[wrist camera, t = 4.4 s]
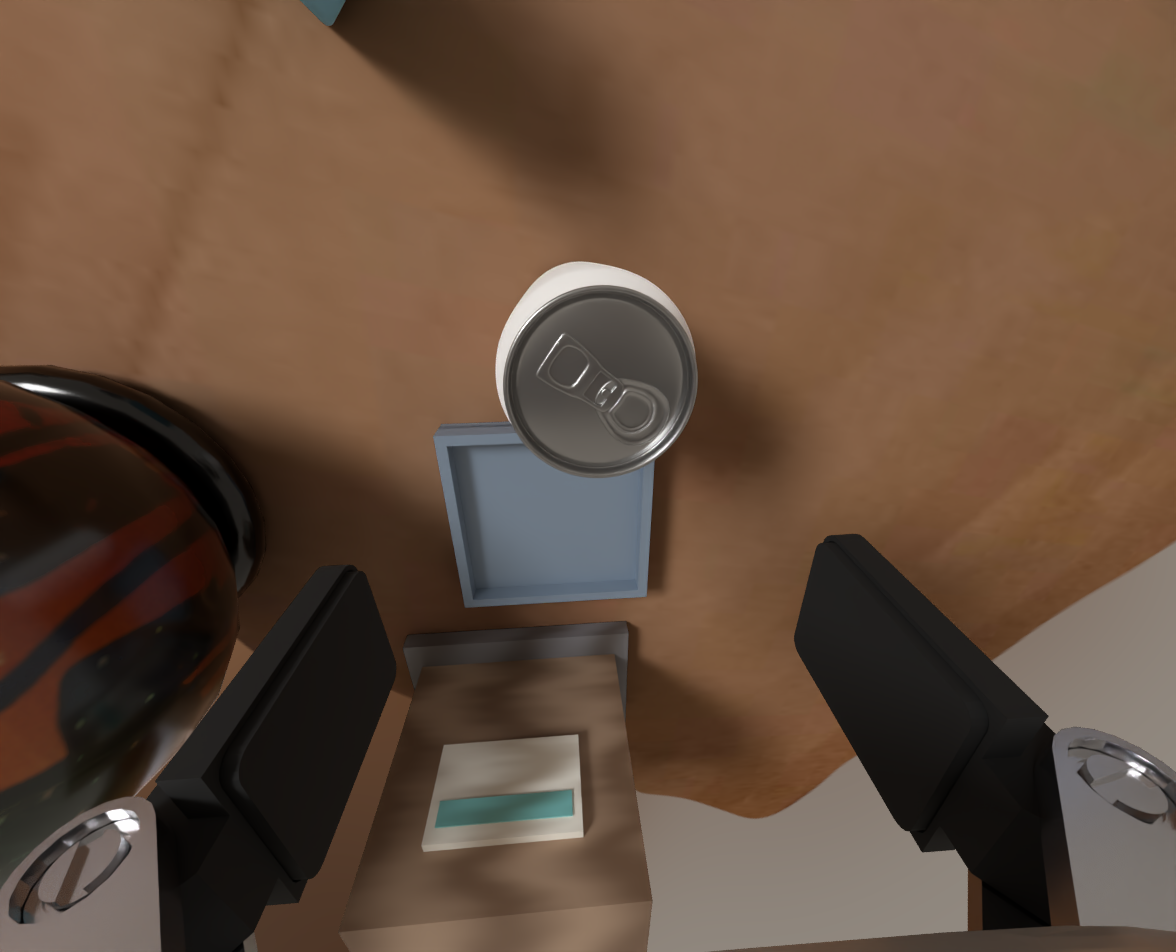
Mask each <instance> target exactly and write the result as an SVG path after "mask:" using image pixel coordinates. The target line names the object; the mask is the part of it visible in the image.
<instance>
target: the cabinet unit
mask: <svg viewBox="0 0 1176 952" xmlns="http://www.w3.org/2000/svg"><path fill="white" fill-rule="evenodd" d="M628 634H629V633H628V628H627V623H626V621H620V622H604V623H588V624H573V625H557V626H541V627H526V628H510V629H495V630H479V631H463V632H448V633H432V634H416V635H407V638H406V641H405V643H404V646H403V651H404V655H405V658H406V662H407V665H408V669H409V672H410V676H411V679H412V683H413V687H414V690H415V692H414V695H413V698H412V701H411V704H410V707H409V711H408V714H407V717H406V720H405V723H404V727H403V730H402V733H401V736H400V739H399V742H398V745H397V749H396V752H395V755H394V758H393V761H392V764H391V767H390V771H389V774H388V777H387V780H386V783H385V787H384V789H383V793H382V796H381V799H380V802H379V805H378V808H377V812H376V815H375V818H374V821H373V824H372V828H371V830H370V833H369V837H368V840H367V843H366V846H365V850H364V852H363V855H362V859H361V862H360V865H359V868H358V872H357V874H356V878H355V881H354V884H353V887H352V890H351V893H350V896H349V900H348V903H347V906H346V909H345V912H344V915H343V919H342V922H341V925H340V928H339V931H338V933H339V935H340V936H341V938H342V939H343V941H344V943H345V944H346V946H347V947H348V949H349V950H350V952H647V944H648V936H649V927H650V917H651V909H652V895H651V888H650V882H649V875H648V869H647V862H646V856H645V849H644V844H643V836H642V830H641V824H640V817H639V811H638V804H637V797H636V791H635V784H634V778H633V771H632V765H631V758H630V752H629V745H628V739H627V732H626V726H625V715H626V688H627V661H628Z"/></svg>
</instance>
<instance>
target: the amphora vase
mask: <svg viewBox="0 0 1176 952" xmlns="http://www.w3.org/2000/svg"><path fill="white" fill-rule="evenodd" d="M265 550H266V543H265V526H264V518H263V516H262V513H261V511H260V508H259V505H258V503H257V500H256V497H255V495H254V492H253V490H252V487H251V485H250V484H249V483H248V481H247V480H246V478H245V477H244V476H243V474H242V473H241V471H240V470H239V469H238V467H237V466H236V464H235V463H234V462H233V460H232V459H231V457H230V456H229V455H228V454H227V453H226V452H225V451H224V450H223V449H222V448H221V447H220V446H219V445H218V444H217V443H215V442H214V441H213V440H212V439H211V438H210V437H209V436H208V435H207V434H206V433H205V432H204V431H203V430H201V429H200V428H199V427H198V426H197V425H196V424H194V423H193V422H191V421H190V420H188V419H187V418H185V417H183V416H182V415H180V414H179V413H177V412H176V411H174V410H172V409H171V408H169V407H168V406H166V405H165V404H163V403H161V402H160V401H158V400H157V399H155V398H153V397H152V396H150V395H147V394H145V393H142V392H140V391H137V390H135V389H133V388H130V387H128V386H125V385H123V384H120V383H118V382H116V381H113V380H111V379H108V378H106V377H103V376H100V375H95V374H91V373H86V372H81V371H76V370H71V369H67V368H62V367H57V366H52V365H17V366H0V889H1V888H2V886H3V885H4V884H5V882H6V881H7V879H8V878H9V876H10V875H11V874H12V872H13V871H14V870H15V869H16V868H17V867H18V866H19V865H20V864H21V862H22V861H23V860H24V859H25V858H26V857H27V856H28V855H29V854H30V853H31V852H32V851H33V850H34V849H35V848H36V847H37V846H38V845H40V844H41V843H42V842H43V841H44V840H46V839H47V838H48V837H49V836H50V835H52V834H53V833H54V832H55V831H57V830H58V829H59V828H61V827H62V826H64V825H65V824H67V823H68V822H70V821H71V820H73V819H74V818H76V817H78V816H79V815H81V814H82V813H84V812H86V811H88V810H90V809H92V808H95V807H97V806H99V805H101V804H103V803H105V802H108V801H112V800H116V799H119V798H123V797H134V796H135V795H136V794H137V793H138V792H139V791H140V790H141V789H142V788H143V787H144V786H145V785H146V784H147V783H148V782H149V781H150V780H151V779H152V778H153V777H154V776H155V775H156V774H157V773H158V772H159V770H161V769H162V767H163V766H164V765H165V764H166V763H167V762H168V761H169V760H170V759H171V758H172V757H173V756H174V755H175V754H176V753H177V752H178V751H179V749H180V748H181V747H182V745H183V744H184V743H185V741H186V740H187V739H188V737H189V736H190V735H191V734H192V732H193V731H194V729H195V728H196V727H197V725H198V724H199V722H200V721H201V719H202V718H203V717H204V715H205V714H206V712H207V711H208V709H209V708H210V707H211V705H212V704H213V702H214V701H215V699H216V698H217V696H218V695H219V692H220V689H221V686H222V683H223V680H224V677H225V673H226V670H227V667H228V664H229V661H230V658H231V655H232V651H233V648H234V645H235V642H236V638H237V635H238V632H239V629H240V627H239V609H238V598H239V597H240V596H241V595H242V593H243V592H244V591H245V590H246V589H247V588H248V586H249V585H250V584H251V583H252V582H253V580H254V579H255V578H256V576H257V575H258V572H259V569H260V566H261V563H262V560H263V556H264V553H265Z"/></svg>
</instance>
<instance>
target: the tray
mask: <svg viewBox="0 0 1176 952" xmlns="http://www.w3.org/2000/svg"><path fill="white" fill-rule="evenodd" d="M433 438H434V443H435V448H436V454H437V459H438V465H439V470H440V475H441V481H442V486H443V492H444V497H445V503H446V508H447V513H448V519H449V524H450V530H451V535H452V540H453V546H454V551H455V557H456V562H457V567H458V573H459V578H460V584H461V589H462V595H463V600H464V605H465V608H469V607H485V606H502V605H518V604H535V603H551V602H567V601H584V600H600V599H617V598H633V597H647V580H648V563H649V546H650V529H651V513H652V496H653V479H654V462H655V460H654V461H652V462H651V463H649V464H648V465H646V466H644V467H642V468H640V469H638V470H635V471H633V472H630V473H627V474H624V475H620V476H615V477H608V478H587V477H580V476H575V475H571V474H568V473H565V472H562V471H560V470H557V469H555V468H553V467H551V466H550V465H548V464H546V463H545V462H543V461H542V460H540V459H539V458H538V457H537V456H535V455H534V454H533V453H532V452H531V451H530V450H529V449H528V448H527V447H526V446H525V444H524V443H523V442H522V441H521V439H520V438H519V436H518V435H517V433H516V431H515V430H514V428H513V426H512V424H511V423H510V422H487V423H460V424H441V426H440V427H439V429H438V430H437V432H436V433H435V435H434V436H433Z"/></svg>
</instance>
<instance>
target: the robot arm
mask: <svg viewBox="0 0 1176 952" xmlns="http://www.w3.org/2000/svg"><path fill="white" fill-rule="evenodd" d="M794 641H795V646H796V649H797V652H798V654H799V656H800V657H801V659H802V661H803V662H804V664H805V666H806V668H807V669H808V671H809V673H810V675H811V676H812V678H813V680H814V681H815V683H816V685H817V687H818V688H819V690H820V692H821V694H822V695H823V697H824V699H825V700H826V702H827V704H828V706H829V707H830V709H831V711H832V713H833V714H834V716H835V718H836V719H837V721H838V723H839V725H840V726H841V728H842V730H843V732H844V733H845V735H846V737H847V738H848V740H849V742H850V744H851V745H852V747H853V749H854V751H855V752H856V754H857V756H858V757H859V759H860V761H861V763H862V764H863V766H864V768H865V770H866V771H867V773H868V775H869V776H870V778H871V780H872V782H873V783H874V785H875V787H876V788H877V790H878V792H879V794H880V795H881V797H882V799H883V800H884V802H885V804H886V806H887V808H888V809H889V811H890V813H891V814H892V816H893V818H894V819H895V821H896V822H897V824H898V825H899V826H900V827H901V828H902V829H904V830H905V831H910V833H911V834H912V836H913V838H914V840H915V841H916V843H917V845H918V846H919V848H920V850H921V851H922V852H934V851H946V850H955V849H956V851H957V852H958V854H959V855H960V857H961V858H962V860H963V861H964V863H965V865H966V866H967V868H968V931H964V932H947V933H934V934H921V935H908V936H896V937H883V938H872V939H859V940H847V941H833V942H822V943H810V944H796V945H785V946H771V947H759V948H748V949H735V950H723V951H712V952H1176V772H1175V771H1174V770H1172V769H1171V768H1170V767H1169V766H1167V765H1166V764H1165V763H1164V762H1162V761H1160V760H1159V759H1157V758H1156V757H1154V756H1152V755H1151V754H1149V753H1148V752H1146V751H1144V750H1143V749H1141V748H1140V747H1137V746H1135V745H1133V744H1131V743H1129V742H1127V741H1124V740H1123V739H1121V738H1118V737H1116V736H1114V735H1110V734H1107V733H1104V732H1101V731H1098V730H1095V729H1089V728H1081V727H1071V728H1065V729H1061V730H1060V731H1059V732H1058V733H1057V734H1055V733H1054V732H1053V731H1052V730H1051V729H1050V728H1049V727H1048V726H1047V725H1046V724H1045V723H1044V722H1045V721H1046V719H1047V718H1048V715H1047V714H1046V713H1045V712H1044V711H1043V710H1042V709H1041V708H1040V707H1039V706H1038V705H1036V704H1035V703H1034V701H1032V700H1031V699H1030V698H1029V697H1028V696H1027V695H1026V694H1025V693H1024V692H1023V691H1022V690H1021V689H1020V688H1019V687H1018V686H1017V685H1016V684H1015V683H1014V682H1013V681H1012V680H1011V679H1010V678H1009V677H1008V676H1007V675H1006V674H1005V673H1004V672H1002V671H1001V670H1000V669H999V668H998V667H997V666H996V665H995V664H994V663H993V662H992V661H991V660H990V659H989V658H988V657H987V656H986V655H985V654H984V653H983V652H982V651H981V650H980V649H979V648H978V647H977V646H976V645H975V644H973V643H972V642H971V641H970V640H969V639H968V638H967V637H966V636H965V635H964V634H963V633H962V632H961V631H960V630H959V629H958V628H957V627H956V626H955V625H954V624H953V623H952V622H951V621H950V620H949V619H948V618H947V617H946V616H944V615H943V614H942V613H941V612H940V611H939V610H938V609H937V608H936V607H935V606H934V605H933V604H932V603H931V602H930V601H929V600H928V599H927V598H926V597H925V596H924V595H923V594H922V593H921V592H920V591H919V590H918V589H916V588H915V587H914V586H913V585H912V584H911V583H910V582H909V581H908V580H907V579H906V578H905V577H904V576H903V575H902V574H901V573H900V572H899V571H898V570H897V569H896V568H895V567H894V566H893V565H892V564H891V563H890V562H889V561H887V560H886V559H885V558H884V557H883V556H882V555H881V554H880V553H879V552H878V551H877V550H876V549H875V548H874V547H873V546H872V545H871V544H870V543H869V542H868V541H867V540H866V539H865V538H864V537H862V536H861V535H858V534H846V535H830V536H827V537H826V538H825V539H824V542H823V543H820V544H818V546H817V548H816V551H815V555H814V559H813V563H812V567H811V571H810V575H809V579H808V583H807V587H806V591H805V595H804V599H803V603H802V607H801V611H800V615H799V619H798V623H797V627H796V631H795V636H794ZM395 676H396V661H395V658H394V655H393V652H392V649H391V646H390V643H389V641H388V638H387V635H386V632H385V629H384V626H383V623H382V620H381V617H380V615H379V612H378V609H377V606H376V603H375V600H374V597H373V594H372V591H371V589H370V586H369V583H368V580H367V577H366V575H365V573H364V572H362V571H357V569H356V567H355V566H354V565H335V566H322V567H320V568H319V569H318V570H316V572H315V573H314V574H313V575H312V577H311V578H310V579H309V581H308V582H307V583H306V585H305V586H304V587H303V589H302V590H301V591H300V592H299V594H298V595H297V596H296V598H295V599H294V600H293V602H292V603H291V604H290V606H289V607H288V608H287V609H286V611H285V612H284V613H283V615H282V616H281V617H280V619H279V620H278V621H277V623H276V624H275V625H274V626H273V628H272V629H271V630H270V632H269V633H268V634H267V636H266V637H265V638H264V639H263V641H262V642H261V643H260V645H259V646H258V647H257V649H256V650H255V651H254V653H253V654H252V655H251V656H250V658H249V659H248V661H247V662H246V663H245V664H244V666H243V667H242V668H241V670H240V671H239V672H238V674H237V675H236V676H235V677H234V679H233V680H232V681H231V683H230V684H229V685H228V687H227V688H226V690H224V692H223V693H222V694H221V696H220V697H219V698H218V700H217V701H216V702H215V704H214V705H213V706H212V708H211V709H210V710H209V712H208V713H207V714H206V715H205V717H204V718H203V719H202V721H201V722H200V723H199V724H198V726H197V727H196V728H195V730H194V731H193V732H192V734H191V735H190V736H189V737H188V739H187V740H186V741H185V743H184V744H183V745H182V747H181V748H180V749H179V751H178V752H177V753H176V754H175V756H174V757H173V758H172V760H171V761H170V762H169V764H168V765H167V766H166V768H165V769H164V770H163V771H162V773H161V774H160V775H159V777H158V778H157V779H156V781H155V782H156V783H157V786H156V787H155V788H154V790H153V791H152V792H151V794H150V795H149V796H148V798H147V799H144V798H142V797H123V798H119V799H116V800H112V801H108V802H105V803H103V804H101V805H99V806H97V807H95V808H92V809H90V810H88V811H86V812H84V813H82V814H81V815H79V816H78V817H76V818H74V819H73V820H71V821H70V822H68V823H67V824H65V825H64V826H62V827H61V828H59V829H58V830H57V831H55V832H54V833H53V834H52V835H50V836H49V837H48V838H47V839H46V840H44V841H43V842H42V843H41V844H40V845H38V846H37V847H36V848H35V849H34V850H33V851H32V852H31V853H30V854H29V855H28V856H27V857H26V858H25V859H24V860H23V861H22V862H21V864H20V865H19V866H18V867H17V868H16V869H15V870H14V871H13V872H12V874H11V875H10V876H9V878H8V879H7V881H6V882H5V884H4V885H3V886H2V888H1V889H0V952H258V951H257V945H256V941H255V934H254V930H255V928H256V926H257V924H258V921H259V919H260V917H261V915H262V912H263V910H264V908H265V906H266V905H277V904H290V903H298V902H299V900H300V897H301V895H302V893H303V890H304V888H305V885H306V883H307V880H308V879H311V878H313V877H315V876H316V874H317V873H318V872H319V870H320V869H321V866H322V864H323V862H324V859H325V857H326V854H327V851H328V849H329V847H330V844H331V842H332V839H333V836H334V833H335V831H336V829H337V826H338V824H339V821H340V819H341V816H342V813H343V811H344V808H345V805H346V803H347V801H348V798H349V795H350V793H351V790H352V788H353V785H354V782H355V780H356V777H357V775H358V772H359V770H360V767H361V765H362V762H363V760H364V757H365V754H366V752H367V749H368V747H369V744H370V742H371V739H372V736H373V734H374V731H375V729H376V726H377V724H378V721H379V718H380V716H381V713H382V711H383V708H384V706H385V703H386V701H387V698H388V696H389V693H390V690H391V688H392V685H393V683H394V680H395Z"/></svg>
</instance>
